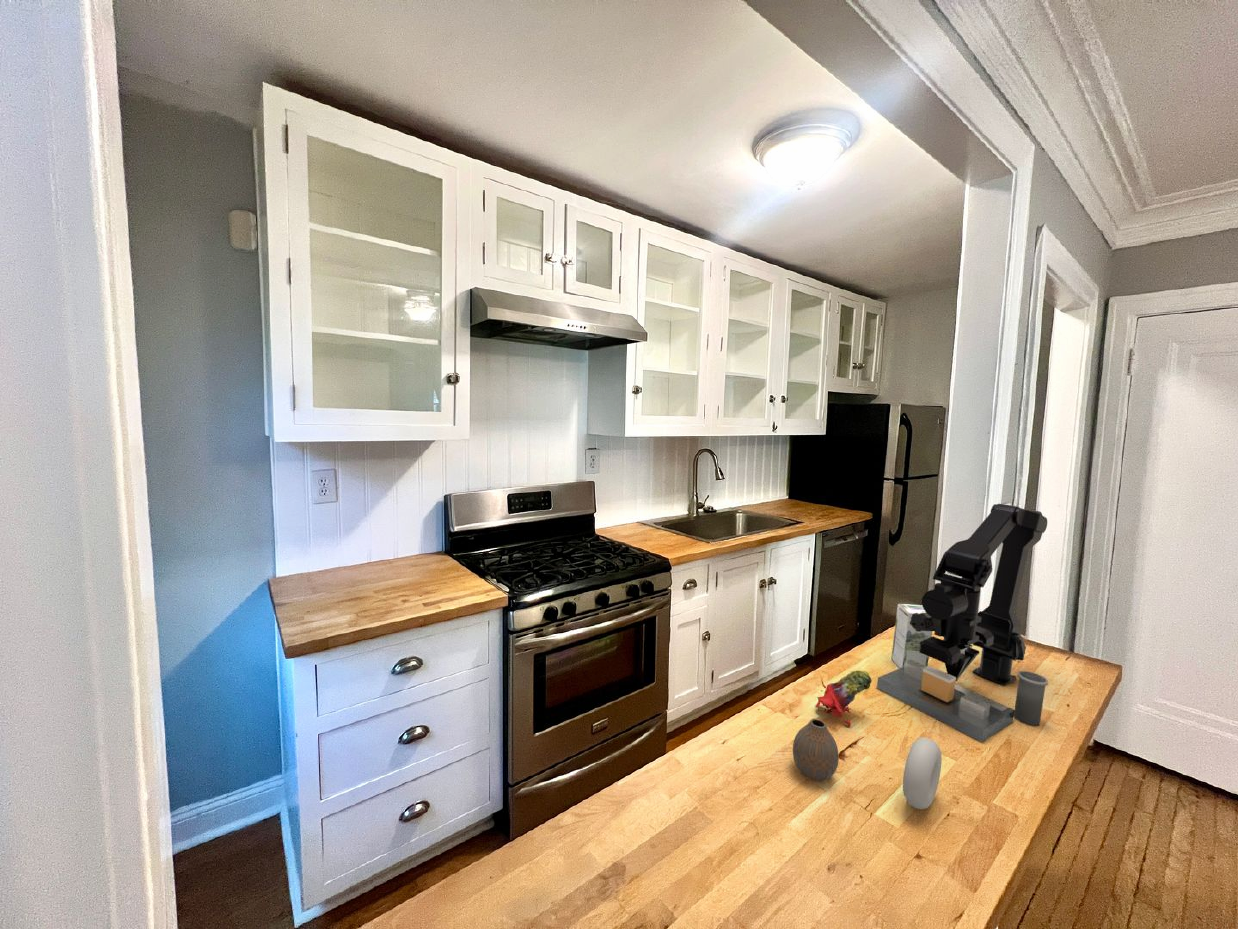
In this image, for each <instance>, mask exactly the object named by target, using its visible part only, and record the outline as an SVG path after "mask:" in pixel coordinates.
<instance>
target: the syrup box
mask: <svg viewBox="0 0 1238 929" xmlns="http://www.w3.org/2000/svg"><path fill="white" fill-rule="evenodd" d="M914 613H918V614H920V613H926V612H925V610H924V608H923V606H922V604H921V605H920V604H908V603H898V604H897V608H896V615H895V616H896V617H895V624H894V626H895V627H894V633H893V640H892V641H893V642H892V651H891V656H890V657H891V658H890V659H891V661H892V662H894V664H895V665H896V666H897V667H898V669H899V668H902V667H904V664H905V662H906V661H908V660H913V661H915V662H917V663H920V664H922V665H924V666H926V667H928V666H929V661H930V660H929V659H930V657H929V656H927V655H924V654H922V653H920V652H919V642H921V641H923V640H926V639H928V638H930V637H933V636H932V635H933V631H921V632H918V631H916V630H915V629H914V628H913V627H912V625H910V621H911V618H910V617H912V614H914Z"/></svg>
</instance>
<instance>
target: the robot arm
mask: <svg viewBox="0 0 1238 929" xmlns="http://www.w3.org/2000/svg"><path fill="white" fill-rule="evenodd" d="M1047 526H1048V518H1047V517H1046V516H1044V515H1043V513H1042V512H1041V511H1038V510H1032V509H1026V508H1021V507H1020V506H1016V505H1012V504H1011V505H1010V504H1006V503H1005V504H1004V503H998V504H994V503H993V505H992V506H991V508H990V512H989V514H988V515H987V516H986V518H985V519H984V520H983V521H982V522H981V524H980V525H979V526H978V527H977V528H976V530H974V532H973V533H972V534H971V535H970V536H969V537H968V539H964V540H960V541H957V542H955V543H954V544H952V546H950V547H949V548H948V549H947V550H946V551H945V552H944V553H943V554H942V557H941V560H940V562H939V564H938V565H937V568H936V571H935V572H934V575H933V577H932V579H933V580H934V581H937V582H936V583H935V584H934V585H933V589H929V590H928V591H926V592H924V594H923V595H922V598H921V605H922V606H923V608H924V610H925V612H926V613H920V614H918V613H914V614H912V617H910V618H911V621H910V625H912V627H913V628H914V629H915V630H916V631H918V632H921V631H932V632H934V633H933V634H934V636H932V637H930V638H928V639H926V640H923V641H921V642H919V652H920V653H922V654H924V655H927V656H929V658H932V659H935V660H937V661H939V662H941V663H944V667H945V670H946V673H947V674H950V675H952V676H954V677H956V681H955V683H956V682H958V680H959V679H960V677H961V676H962V674H963V673H964V672H965V671H966V670H967V669H968V667H969V666H970V665H971V664H972V662H973V661H974V660H975V659H976V657H977V656H978V655H980V653H981V655H980V663H979V666H978V667H977V668H974V669H973V670H972V673H973V674H976V675H978V676H980V677H983V678H986V679H987V680H990V681H992V682H995V683H997V684H999V685H1001V686H1007V685H1009V684H1010V683H1012V682H1014V681H1016V680H1017V678H1018V676H1015V675H1013V674H1012V668H1013V662H1016V661H1024V660H1025V654H1026V649H1027V646H1026V644H1025V642H1024V640H1023V637H1022V635H1021V630H1022V628H1021V627H1022V626H1021V623H1020V620H1019V619H1018V616H1017V614H1016V608H1017V605H1018V600H1019V599H1018V598H1019V595H1020V591H1021V587H1022V582H1023V577H1024V573H1025V568H1026V563H1027V559H1028V555H1029V550H1030V549H1031V548H1032V547H1034V546H1035V545H1036V544H1037V543H1039V542H1040V541H1041V540H1042V537H1043V534H1044V533H1045V532H1046V530H1047ZM1001 544H1002V547H1001V552H1000V555H999V556H1000V557H999V560H998V565H997V570H996V574H995V578H994V579H995V580H994V582H993V588H992V592H991V597H990V601H989V604H988V606H986V608H985V609H983V610H979V606H980V600H981V599H980V598H981V592H982V591H981V588H984V587H985V585H986V583H987V581H988V579H989V578H990V576H991V574H992V573H993V563H992V557H993V554H994V553H995V551H996V550H997V549H998V548H999V547H1000V546H1001ZM946 572H947V573H946ZM937 636H938V637H943V639H942V638H938V637H937ZM973 646H975V647H978V648H981V652H980V651H979V650H978V649H975V648H973Z"/></svg>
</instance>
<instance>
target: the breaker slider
mask: <svg viewBox="0 0 1238 929" xmlns="http://www.w3.org/2000/svg"><path fill="white" fill-rule="evenodd" d="M955 681H956V677H954V676H952V675H950V674H947V672H945V671H944V670H943V671H942V670H940V669H938V668H935V667H933V666H931V665H928V667H926V668H924V669H923V677H922V686H921V690H923V691H925V692H927V693H929V694H931V695H933V696H935V697H937V698H939V699H941V700H943V701H945V702H949V701H951V700H953V697H954V689H955V684H956V682H957V681H956V682H955Z"/></svg>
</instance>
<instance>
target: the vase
mask: <svg viewBox="0 0 1238 929" xmlns="http://www.w3.org/2000/svg"><path fill="white" fill-rule="evenodd" d="M839 755H840V754H839V750H838V744H837V741H836V740H835V738H834V736H833V735H832V733H831V732H830V730H829V729H828V726H827V724H826V722H825V721H824V720H822V719H820V718H811V719H810V720H809V721H808V723H807V724H806V725H804V726H803V727H801V728H800V729H799V730H798V731H797V733H796V734H795V736H794V740H793V743H792V756H793V761H794V764H795V766H796V768H797V770H798V771H799V772H800V773H801V774H802V775H803V777H805V778H806V779H808V780H810V781H813V782H815V783H818V782H819V783H821V782H825V781H828V780H829V779H831V778H832V777H833V776H834V774H836V771H837V768H838V765H839V757H840V756H839Z"/></svg>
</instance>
